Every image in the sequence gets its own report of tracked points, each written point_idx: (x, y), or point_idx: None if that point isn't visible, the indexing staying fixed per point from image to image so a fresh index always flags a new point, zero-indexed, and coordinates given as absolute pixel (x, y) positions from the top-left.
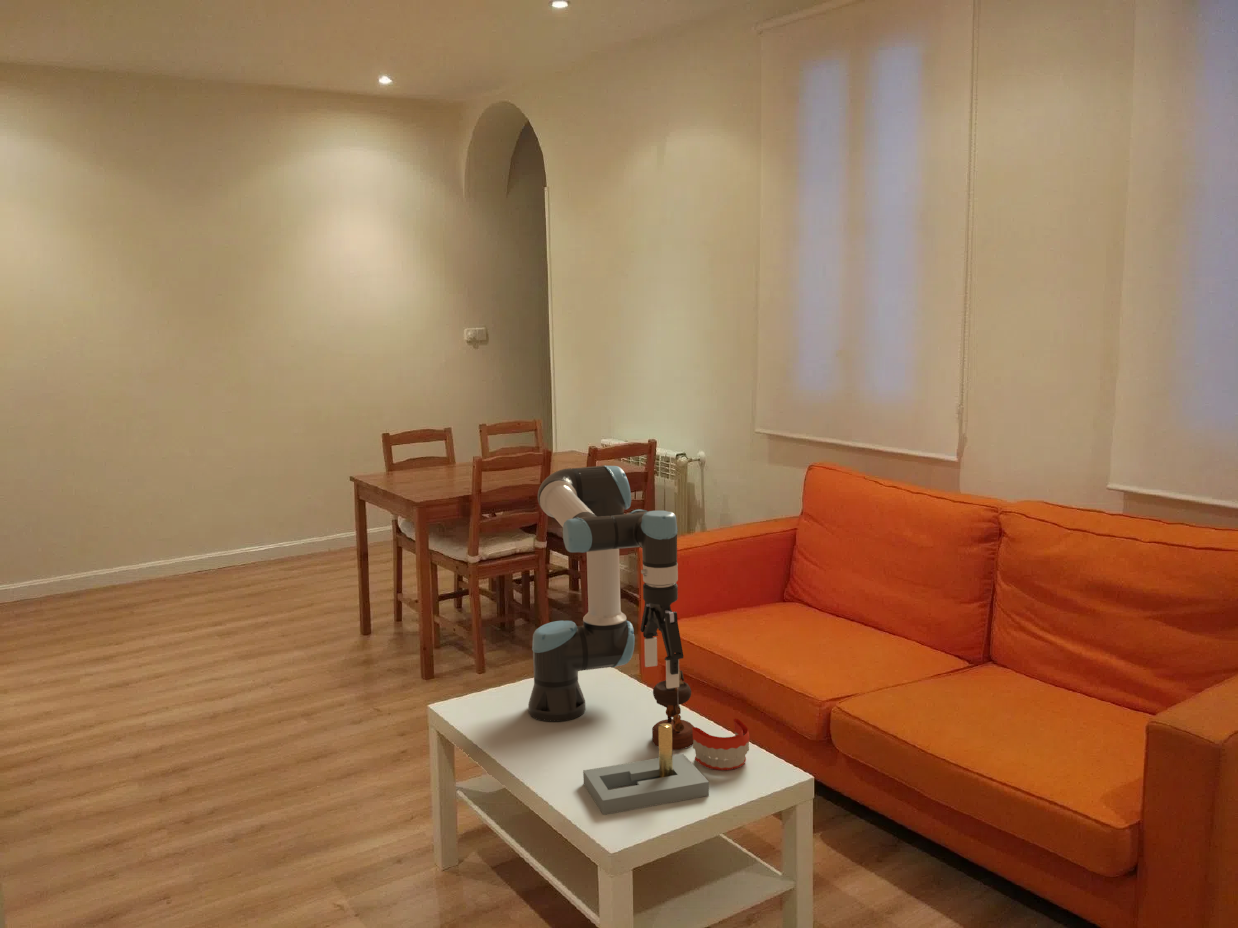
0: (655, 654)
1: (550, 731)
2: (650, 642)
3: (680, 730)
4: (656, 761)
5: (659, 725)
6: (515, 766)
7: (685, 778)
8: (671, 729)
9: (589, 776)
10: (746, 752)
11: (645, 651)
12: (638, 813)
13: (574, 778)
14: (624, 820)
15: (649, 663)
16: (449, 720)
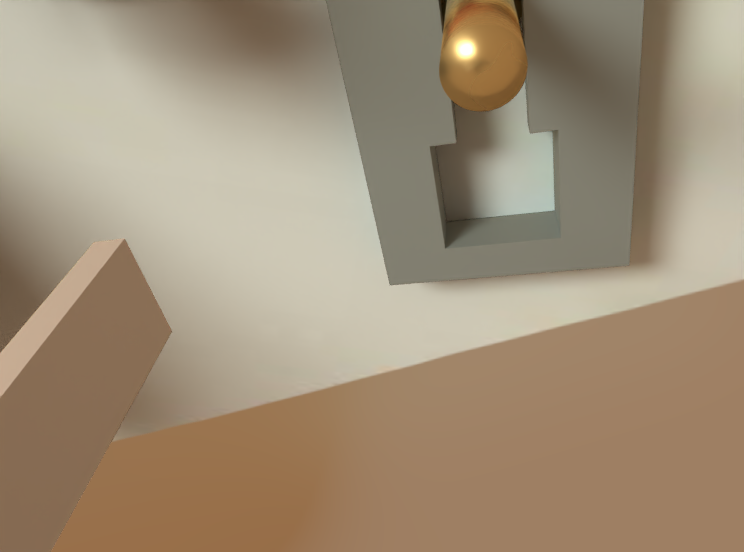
0: (74, 335)
1: (24, 290)
2: (14, 514)
3: None
4: (361, 18)
5: (465, 101)
6: (259, 388)
7: None
8: (510, 26)
9: (439, 275)
10: None
11: (94, 454)
12: (660, 131)
13: (352, 275)
14: (687, 183)
15: (146, 325)
16: None
